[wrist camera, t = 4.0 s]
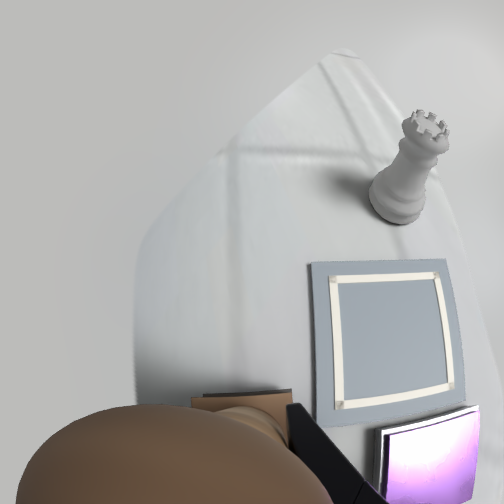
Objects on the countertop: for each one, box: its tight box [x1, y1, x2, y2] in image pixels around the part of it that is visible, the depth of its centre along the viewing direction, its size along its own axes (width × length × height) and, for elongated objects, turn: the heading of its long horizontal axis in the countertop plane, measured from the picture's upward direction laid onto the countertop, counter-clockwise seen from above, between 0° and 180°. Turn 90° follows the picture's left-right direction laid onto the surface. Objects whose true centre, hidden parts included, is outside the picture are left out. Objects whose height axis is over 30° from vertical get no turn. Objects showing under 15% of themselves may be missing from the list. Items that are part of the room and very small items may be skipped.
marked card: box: [311, 259, 466, 428], centre depth 16 cm, size 10×10×1 cm
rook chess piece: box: [369, 110, 449, 224], centre depth 17 cm, size 4×4×8 cm
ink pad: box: [372, 405, 479, 504], centre depth 11 cm, size 7×7×2 cm
